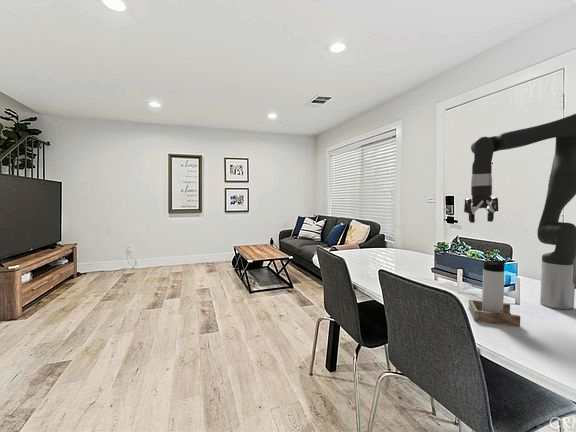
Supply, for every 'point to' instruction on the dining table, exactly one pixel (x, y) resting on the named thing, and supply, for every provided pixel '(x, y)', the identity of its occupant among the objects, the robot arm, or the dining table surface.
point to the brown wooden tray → (493, 314)
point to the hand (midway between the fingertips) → (481, 222)
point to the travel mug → (493, 286)
